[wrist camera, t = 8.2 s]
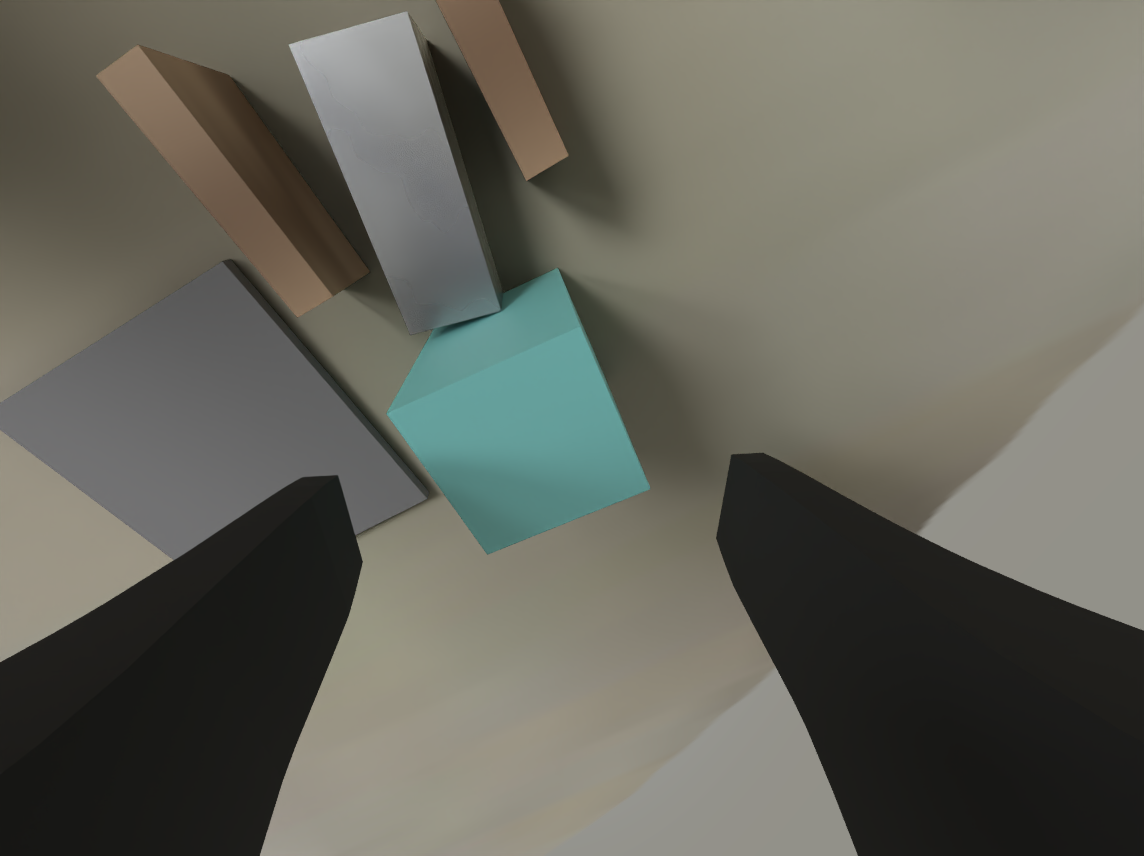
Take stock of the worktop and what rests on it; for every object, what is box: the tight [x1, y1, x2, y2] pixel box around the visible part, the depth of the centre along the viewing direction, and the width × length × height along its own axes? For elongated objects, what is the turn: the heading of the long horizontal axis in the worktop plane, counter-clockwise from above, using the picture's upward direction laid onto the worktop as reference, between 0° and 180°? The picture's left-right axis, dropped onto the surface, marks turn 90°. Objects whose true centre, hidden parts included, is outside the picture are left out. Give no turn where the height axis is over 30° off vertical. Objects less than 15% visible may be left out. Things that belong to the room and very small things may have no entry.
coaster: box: [0, 259, 429, 560], centre depth 15 cm, size 9×9×1 cm
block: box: [386, 268, 650, 555], centre depth 12 cm, size 4×4×6 cm
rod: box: [289, 11, 503, 335], centre depth 12 cm, size 6×2×2 cm, turn 14°
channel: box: [96, 0, 569, 318], centre depth 10 cm, size 5×7×3 cm
